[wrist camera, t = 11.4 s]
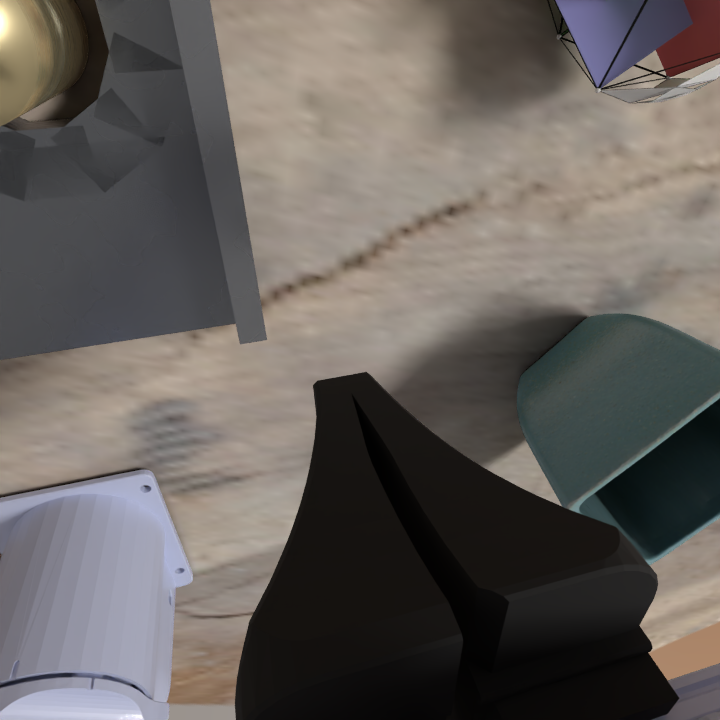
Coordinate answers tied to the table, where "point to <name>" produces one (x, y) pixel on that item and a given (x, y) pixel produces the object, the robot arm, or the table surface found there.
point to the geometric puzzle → (643, 41)
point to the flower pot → (629, 428)
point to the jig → (129, 198)
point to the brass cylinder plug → (38, 52)
